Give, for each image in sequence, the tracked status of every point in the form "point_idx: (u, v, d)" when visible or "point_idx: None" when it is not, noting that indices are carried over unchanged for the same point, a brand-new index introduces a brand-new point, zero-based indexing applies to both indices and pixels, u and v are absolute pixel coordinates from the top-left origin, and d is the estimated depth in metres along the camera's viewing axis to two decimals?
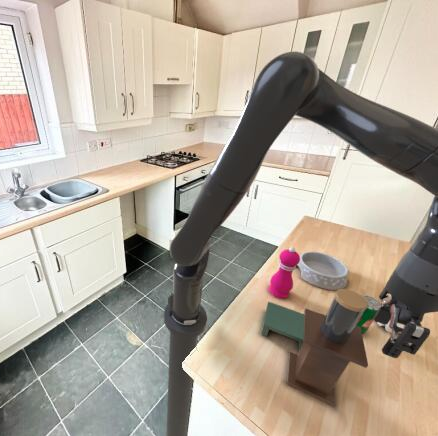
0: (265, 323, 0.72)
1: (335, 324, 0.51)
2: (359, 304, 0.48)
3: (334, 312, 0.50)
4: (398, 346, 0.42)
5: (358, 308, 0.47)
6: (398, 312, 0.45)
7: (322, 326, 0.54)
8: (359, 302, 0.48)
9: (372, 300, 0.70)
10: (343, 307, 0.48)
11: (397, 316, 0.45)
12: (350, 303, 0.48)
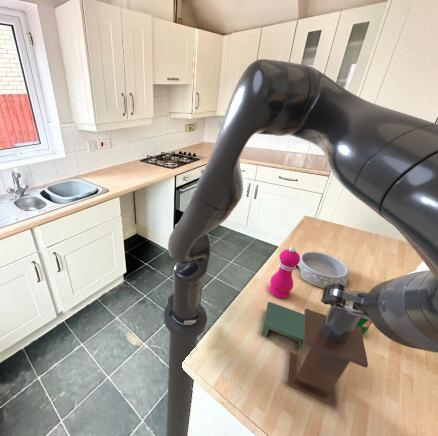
0: (265, 323, 0.72)
1: (335, 324, 0.51)
2: None
3: (334, 312, 0.50)
4: (324, 287, 0.37)
5: None
6: None
7: (322, 326, 0.54)
8: None
9: None
10: None
11: None
12: None
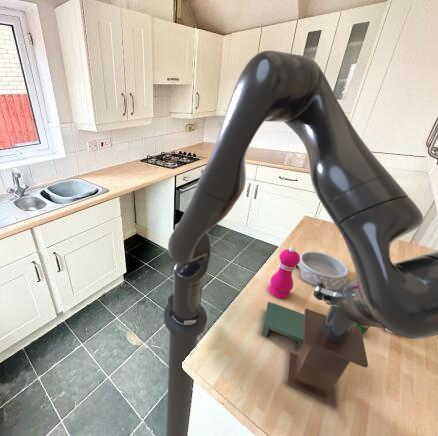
0: (265, 323, 0.72)
1: (335, 323, 0.51)
2: None
3: (334, 312, 0.50)
4: None
5: None
6: None
7: (322, 326, 0.54)
8: None
9: None
10: None
11: None
12: None
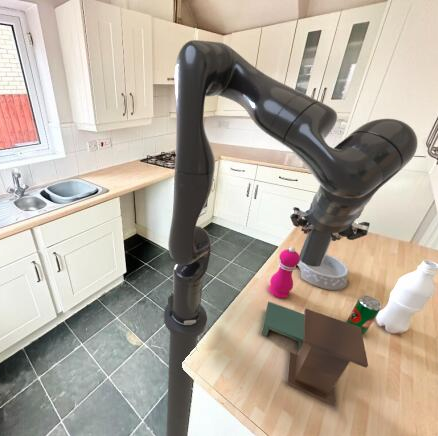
0: (265, 323, 0.72)
1: (311, 247, 0.58)
2: None
3: (310, 237, 0.58)
4: None
5: None
6: None
7: (300, 254, 0.62)
8: None
9: (372, 300, 0.70)
10: (317, 230, 0.56)
11: None
12: None
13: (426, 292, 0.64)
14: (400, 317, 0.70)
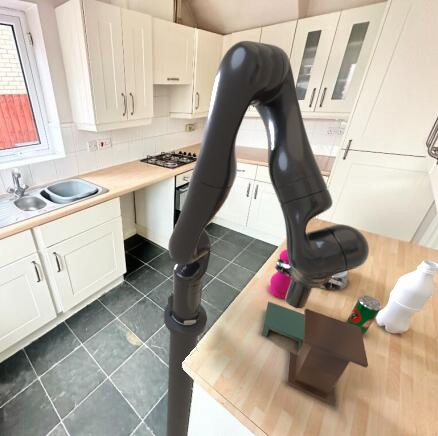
0: (265, 323, 0.72)
1: (294, 292, 0.65)
2: None
3: (293, 283, 0.65)
4: None
5: None
6: None
7: (286, 296, 0.69)
8: None
9: (372, 300, 0.70)
10: None
11: None
12: None
13: (426, 292, 0.64)
14: (400, 317, 0.70)
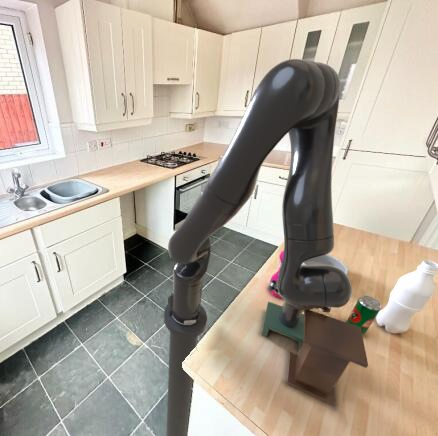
0: (265, 323, 0.72)
1: (287, 312, 0.69)
2: None
3: (286, 304, 0.69)
4: (270, 281, 0.69)
5: None
6: None
7: (279, 315, 0.73)
8: None
9: (372, 300, 0.70)
10: None
11: None
12: None
13: (426, 292, 0.64)
14: (400, 317, 0.70)
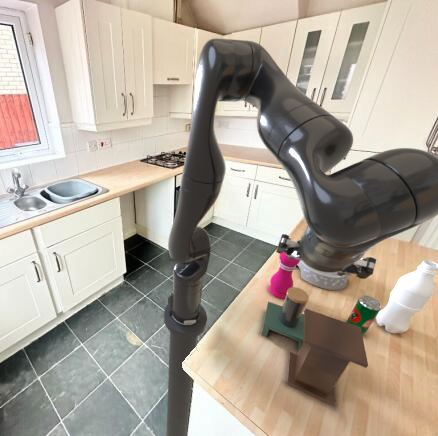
0: (265, 323, 0.72)
1: (287, 312, 0.69)
2: (302, 298, 0.66)
3: (286, 304, 0.69)
4: (279, 241, 0.50)
5: (300, 301, 0.65)
6: None
7: (279, 315, 0.73)
8: (302, 296, 0.66)
9: (372, 300, 0.70)
10: (291, 300, 0.67)
11: None
12: (295, 297, 0.66)
13: (426, 292, 0.64)
14: (400, 317, 0.70)
